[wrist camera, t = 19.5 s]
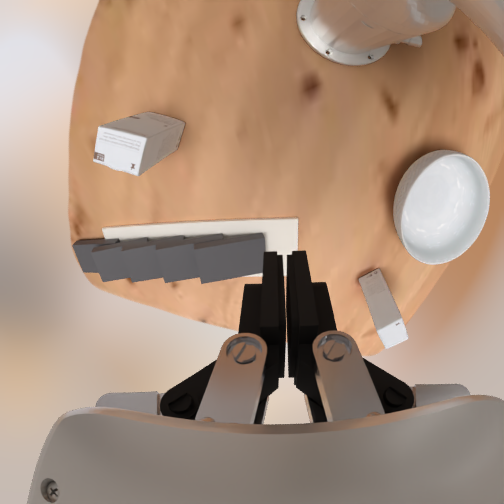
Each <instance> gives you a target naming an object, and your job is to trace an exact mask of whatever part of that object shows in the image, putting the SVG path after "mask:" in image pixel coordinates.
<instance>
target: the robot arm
mask: <svg viewBox="0 0 504 504" xmlns="http://www.w3.org/2000/svg"><path fill="white" fill-rule="evenodd" d="M456 7H458V8H459V9H460V10H461V11H462V12H463V13H464V14H465V15H466V16H467V17H468V18H469V19H470V20H471V21H472V22H473V23H474V24H475V25H476V26H477V27H479V28H480V29H481V30H482V31H483V32H484V33H485V34H486V36H487V37H488V38H489V39H490V40H491V41H492V43H493V44H494V45H495V46H496V47H497V49H498V50H499V51H500V52H501V54H502V55H503V56H504V0H301V1H300V3H299V5H298V9H297V13H296V18H297V25H298V29H299V31H300V33H301V35H302V37H303V38H304V40H305V41H306V43H307V44H308V45H309V46H310V47H311V48H312V49H313V50H314V51H315V52H317V53H318V54H320V55H321V56H322V57H324V58H326V59H328V60H330V61H332V62H335V63H338V64H342V65H348V66H361V65H367V64H370V63H373V62H375V61H377V60H379V59H380V58H381V57H383V56H384V55H385V54H386V52H387V51H388V50H389V48H390V45H391V44H393V43H395V44H399V43H400V42H402V43H406V44H407V45H410V46H414V47H418V48H419V47H421V45H422V38H421V36H420V35H423V34H427V33H430V32H434V31H436V30H439V29H441V28H442V27H444V26H445V25H446V24H447V23H448V22H449V21H450V19H451V18H452V16H453V14H454V12H455V9H456ZM302 18H303V19H305V21H302V20H301V19H302ZM326 51H328V52H329V55H327V54H326ZM368 56H369V57H370V59H368ZM286 317H287V342H288V371H289V377H294V385H296V388H298V389H299V390H300V391H302V392H303V393H304V397H305V402H306V406H307V411H308V415H309V419H310V423H306V424H282V425H281V424H278V425H277V424H275V425H264V424H263V423H264V419H265V414H266V410H267V405H268V401H269V395H270V394H272V392H274V391H275V390H276V389H278V381H279V378H284V368H285V347H286ZM27 504H504V401H503V400H502V399H500V398H497V397H493V396H487V395H470V392H469V391H468V389H467V388H466V387H464V386H463V385H460V384H435V385H433V384H428V385H426V384H425V385H424V384H415V386H414V387H409V386H408V385H407V384H406V383H404V382H402V381H401V380H399V379H397V378H396V377H394V376H392V375H391V374H389V373H387V372H386V371H384V370H382V369H381V368H379V367H377V366H375V365H374V364H372V363H371V362H369V361H367V360H366V359H364V358H362V356H361V353H360V351H359V349H358V346H357V344H356V342H355V341H354V339H353V338H352V337H351V336H350V335H348V334H346V333H344V332H341V331H337V328H336V323H335V319H334V314H333V310H332V305H331V301H330V296H329V292H328V288H327V284H326V282H315V283H312V282H311V276H310V271H309V265H308V260H307V255H306V251H292V255H287V285H286V309H285V288H284V270H283V255H277V251H266V252H264V255H263V277H262V284H245V286H244V293H243V300H242V308H241V316H240V324H239V332H238V334H235V335H233V336H231V337H229V338H228V339H227V340H226V341H225V342H224V344H223V345H222V347H221V350H220V353H219V356H218V358H217V360H215V361H214V362H212V363H211V364H209V365H208V366H206V367H205V368H203V369H202V370H200V371H199V372H197V373H195V374H194V375H192V376H191V377H189V378H188V379H186V380H184V381H183V382H181V383H179V384H178V385H176V386H174V387H173V388H171V389H170V390H168V391H167V392H166V393H162V394H159V393H158V392H157V391H156V392H135V393H108V394H105V395H103V396H101V397H100V399H99V400H98V401H97V403H96V406H95V407H86V408H80V409H75V410H72V411H69V412H67V413H65V414H63V415H62V416H61V417H60V418H58V420H57V421H56V422H55V424H54V425H53V427H52V429H51V431H50V433H49V434H48V436H47V439H46V441H45V443H44V445H43V448H42V451H41V453H40V456H39V459H38V462H37V465H36V468H35V472H34V476H33V479H32V483H31V488H30V492H29V496H28V501H27Z"/></svg>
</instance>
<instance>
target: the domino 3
mask: <svg viewBox="0 0 504 504" xmlns="http://www.w3.org/2000/svg"><path fill="white" fill-rule="evenodd" d="M179 240H184V235H180V236H175V237H169V238H163V239H158V240H152V241H147V242H141V243H136V244H131V245H126V246H123V247H122V250H121V253H122V256H123V259H124V262H125V264H126V267H127V270H128V273H129V275H130V278H131V281H132V282H138V281H144V280H150V279H156V278H162V277H163V274H162V271H161V268H160V264H159V261H158V257H157V254H156V245H157V244H162V243H168V242H174V241H179Z"/></svg>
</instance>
